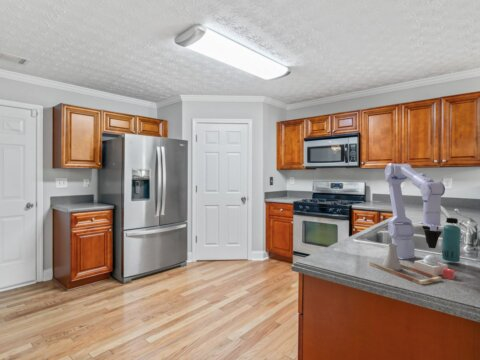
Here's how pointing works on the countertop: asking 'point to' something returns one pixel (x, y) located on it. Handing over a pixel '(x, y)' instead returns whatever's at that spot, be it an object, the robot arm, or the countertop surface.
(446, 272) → the red die
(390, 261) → the flask
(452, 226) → the beverage bottle
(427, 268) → the dome housing
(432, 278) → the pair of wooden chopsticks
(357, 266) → the countertop surface
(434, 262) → the dome
